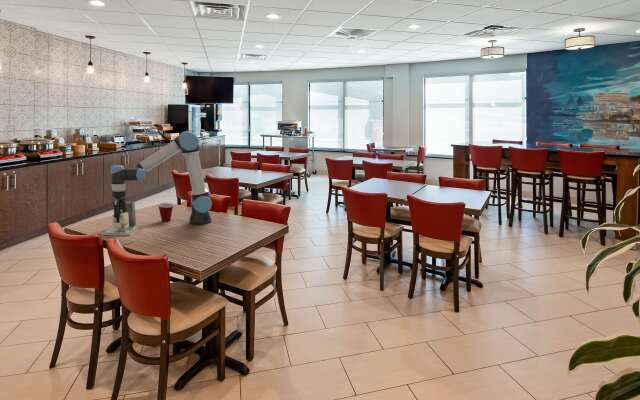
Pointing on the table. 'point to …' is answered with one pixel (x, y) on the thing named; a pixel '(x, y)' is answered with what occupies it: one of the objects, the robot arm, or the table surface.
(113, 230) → the press
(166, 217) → the plastic cup
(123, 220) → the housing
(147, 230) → the table surface
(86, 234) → the table surface
